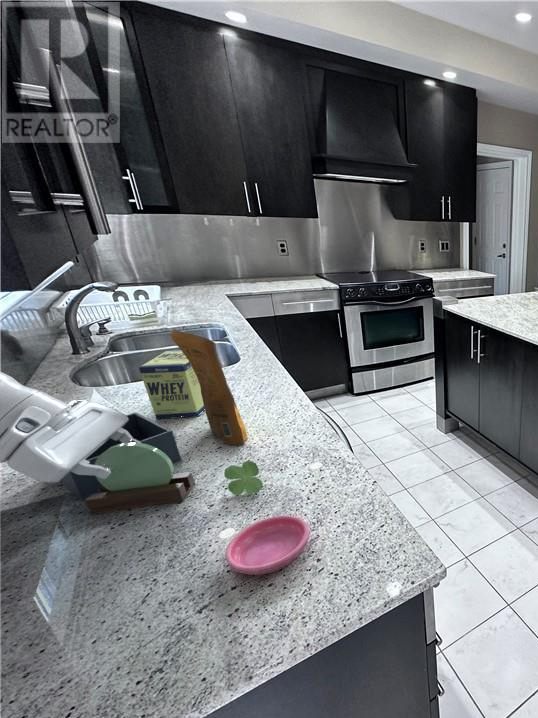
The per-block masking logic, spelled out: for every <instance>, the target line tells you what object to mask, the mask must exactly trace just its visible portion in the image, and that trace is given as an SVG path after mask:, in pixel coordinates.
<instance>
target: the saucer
mask: <svg viewBox="0 0 538 718" xmlns="http://www.w3.org/2000/svg"><path fill="white" fill-rule="evenodd" d="M309 539H310V528H309V525H308V523H307V522H306V521H305V520H304V519H302V518H301V517H299V516H296V515H290V514H288V515H287V514H285V515H275V516H270V517H266V518H263V519H260V520H257V521H256V522H253V523H251V524H249V525H248V526H246V527H245V528H244V529H242V530H241V531H239V532H238V533H237V534H235V536H234V537H233V538H232V539H231V540H230V541H229V543H228V545H227V547H226V549H225V561H226V563H227V566H229V568H230V569H232V570H233V571H235V572H237V573H241V574H244V575H253V576H260V575H261V576H262V575H268V574H271V573H275V572H277V571H279V570H282V569H284V568H285V567H287V566H289V565H290V564H291V563H292V562H293V561H294V560H295V559H296V558H298V556H299V555H300V554H301V553H302V552H303V550H304V549H305V548H306V546H307V544H308V542H309Z"/></svg>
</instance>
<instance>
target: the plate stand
mask: <svg viewBox="0 0 538 718" xmlns="http://www.w3.org/2000/svg"><path fill="white" fill-rule="evenodd" d="M195 486H196V481H195V478H194V476H193V472H192V471H185V472H183V471H182V472H174V475H173V478H172V479H171V481H170V482H169V484H168V485H160V486H152V487H144V488H136V489H127V490H119V491H110V490H108V489H106V488H105V487H104V486H103V485H102V484H101V485H100V486H99V487H98V489H99V491H100V493H94V494H91V495H90V496H89V497H88V498H87V499H86V500H84V502H85V504H86V506H87V509H88V511H89V513H90V514H91V515H94V514H102V513H109V512H117V511H125V510H132V509H133V510H134V509H139V508H140V509H141V508H147V507H155V506H163V505H170V504H177V503H184V502H185V500H186V499H187V497H188V496H189V494H190V493H191V492H192V490H193V488H194V487H195Z"/></svg>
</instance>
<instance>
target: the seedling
mask: <svg viewBox="0 0 538 718" xmlns="http://www.w3.org/2000/svg"><path fill="white" fill-rule="evenodd" d="M259 473H260V470H259V467H258V464H257V463H256V462H254V461H251V460H246V461H244V462H242V465H241V466H238V465H235V464H233V465H232V464H231V465H229V466H227V467H226V468H225V470H224V474H223V475H224V478H225V479H227V480H231V481H230V482H228V484H227V489H228V491H229V492H230V493H231V494H233V495H235V496H238V495H242V494H244V492H245V493H246V494H247V495H253V494H257V493H259V492H260V491H261V490H262V489H263V485H264V484H263V481H262V480H261V479H260V478H259V477H256V476H258V475H259Z"/></svg>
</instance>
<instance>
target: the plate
mask: <svg viewBox="0 0 538 718" xmlns="http://www.w3.org/2000/svg"><path fill="white" fill-rule="evenodd" d="M104 464H106V465H108V466H109V467H113V468H114V471H113V472H112V473H111V474H110V475H109V476H108V477H107V478H106V479H102V478H99V477H97V476H96V478H97V480H98V481H99V482H100V483H101V484H102V485H103V486H104V487H105V488H106V489H108V490H110V491H119V490H127V489H136V488H144V487H152V486H160V485H168V484H169V482H170V481H171V479H172V478H173V475H174V473H175V466H174V463H173V464H172V462H171V460H170V458H169V457H168V456H167V455H166V454H165V453H164V452H162V451H161V450H159V449H157V448H155V447H153V446H151V445H147V444H143V443H135V442H129V443H121V444H117V445H115V446H112V447H110V448H108V449H107V450H106V451H104V452H103V453H102V454H101V455H100V456H99V457H98V459H97V460H96V462H95V465H98V466H103V465H104Z"/></svg>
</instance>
